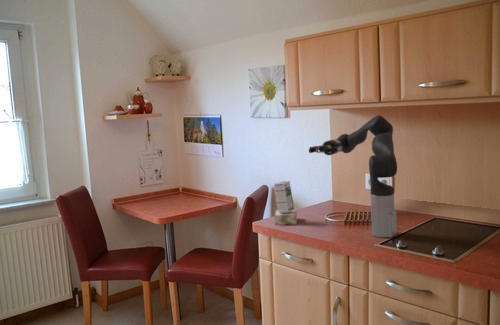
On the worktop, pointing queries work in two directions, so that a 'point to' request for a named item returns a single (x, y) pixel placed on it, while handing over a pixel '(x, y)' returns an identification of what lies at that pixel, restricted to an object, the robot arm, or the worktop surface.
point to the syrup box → (284, 197)
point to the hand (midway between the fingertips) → (317, 151)
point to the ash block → (285, 218)
